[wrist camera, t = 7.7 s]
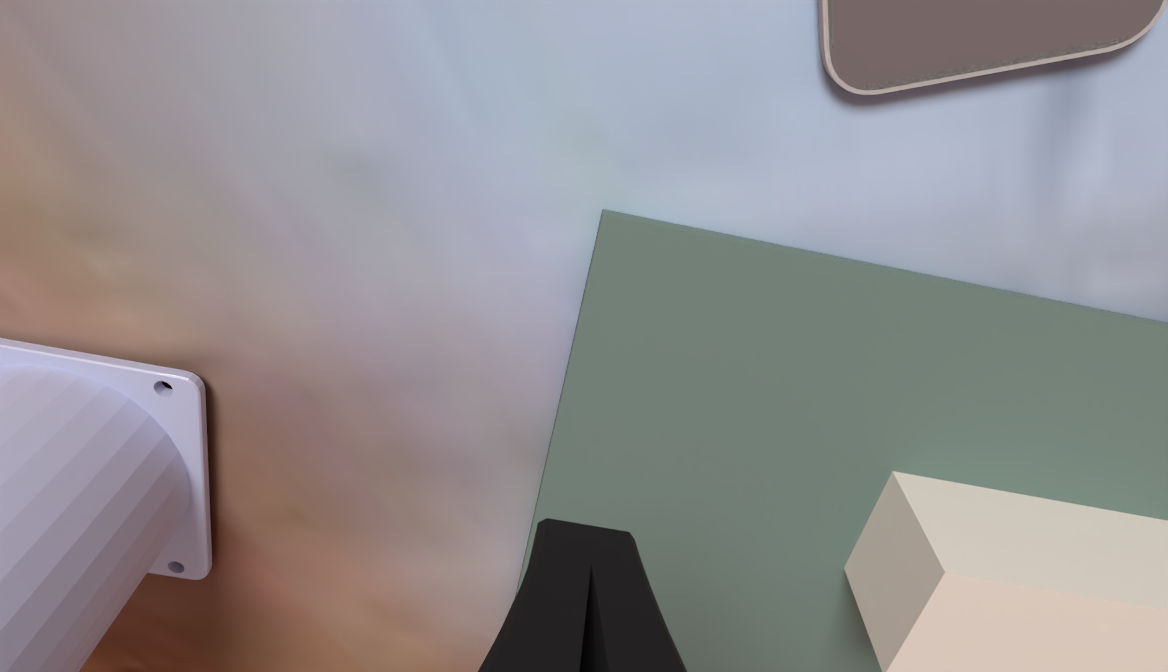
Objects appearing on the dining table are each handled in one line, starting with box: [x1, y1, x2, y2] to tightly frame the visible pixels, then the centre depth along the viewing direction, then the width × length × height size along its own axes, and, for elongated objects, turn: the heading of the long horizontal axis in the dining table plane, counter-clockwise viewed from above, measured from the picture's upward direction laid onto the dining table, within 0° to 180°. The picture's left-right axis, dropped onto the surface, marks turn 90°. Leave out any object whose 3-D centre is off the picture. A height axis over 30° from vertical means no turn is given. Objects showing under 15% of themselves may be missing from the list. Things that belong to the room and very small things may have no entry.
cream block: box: [844, 471, 1168, 672], centre depth 22 cm, size 4×4×10 cm
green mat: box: [515, 209, 1168, 672], centre depth 24 cm, size 22×16×1 cm
